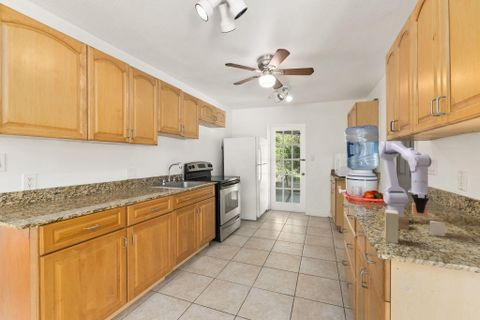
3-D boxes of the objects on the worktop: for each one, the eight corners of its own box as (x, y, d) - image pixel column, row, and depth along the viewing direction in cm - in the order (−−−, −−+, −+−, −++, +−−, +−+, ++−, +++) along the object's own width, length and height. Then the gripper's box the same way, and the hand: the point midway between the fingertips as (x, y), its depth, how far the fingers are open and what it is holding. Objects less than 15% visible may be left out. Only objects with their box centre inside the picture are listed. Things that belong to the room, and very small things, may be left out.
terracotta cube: (412, 213, 100) (412, 202, 100) (426, 214, 98) (426, 203, 98) (413, 215, 96) (413, 204, 96) (427, 217, 93) (427, 205, 93)
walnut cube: (393, 225, 109) (393, 215, 109) (405, 226, 107) (405, 216, 107) (396, 228, 104) (395, 218, 104) (408, 229, 102) (408, 219, 102)
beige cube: (430, 231, 100) (430, 220, 100) (444, 233, 97) (444, 222, 97) (429, 234, 96) (429, 223, 96) (445, 236, 93) (445, 225, 93)
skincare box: (384, 237, 93) (384, 209, 93) (397, 239, 91) (397, 210, 91) (385, 242, 88) (385, 212, 87) (398, 244, 85) (398, 213, 85)
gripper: (407, 179, 105) (407, 207, 105) (409, 182, 93) (409, 213, 93) (426, 180, 101) (426, 209, 101) (431, 183, 89) (431, 216, 89)
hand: (419, 211), depth 97 cm, fingers closed on terracotta cube, 5 cm apart
